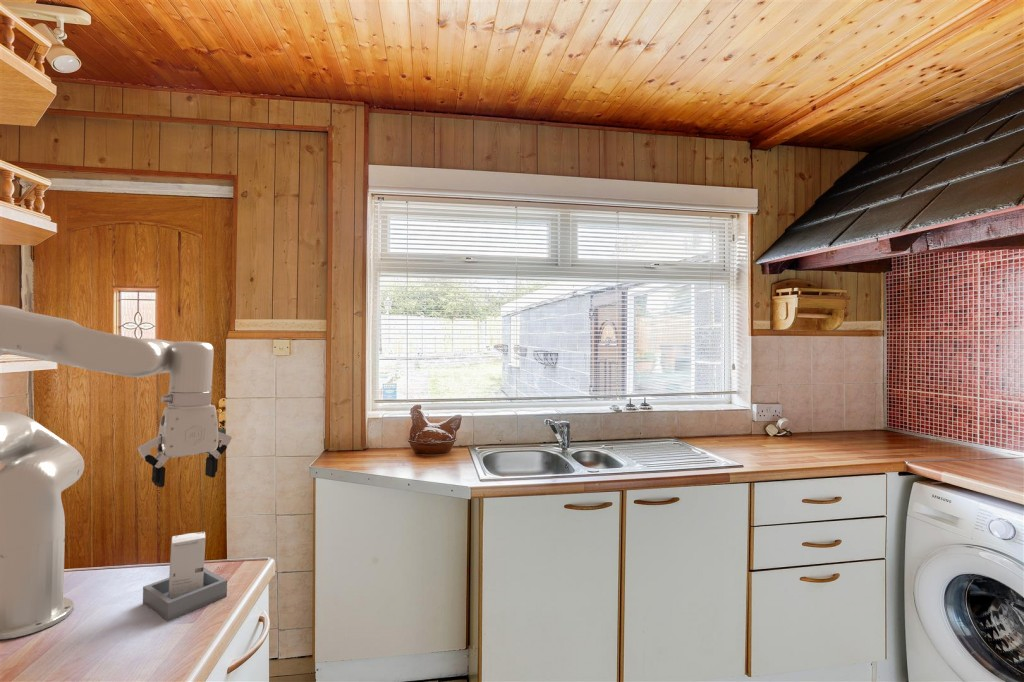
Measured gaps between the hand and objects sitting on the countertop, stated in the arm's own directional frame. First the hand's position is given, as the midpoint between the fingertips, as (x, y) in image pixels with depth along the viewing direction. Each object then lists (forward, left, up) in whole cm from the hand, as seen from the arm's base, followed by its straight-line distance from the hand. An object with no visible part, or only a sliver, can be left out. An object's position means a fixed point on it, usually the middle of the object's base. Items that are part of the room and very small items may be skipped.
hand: (185, 480), depth 102 cm
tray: (+2, 0, -25) cm, 25 cm away
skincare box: (+2, 0, -24) cm, 24 cm away
